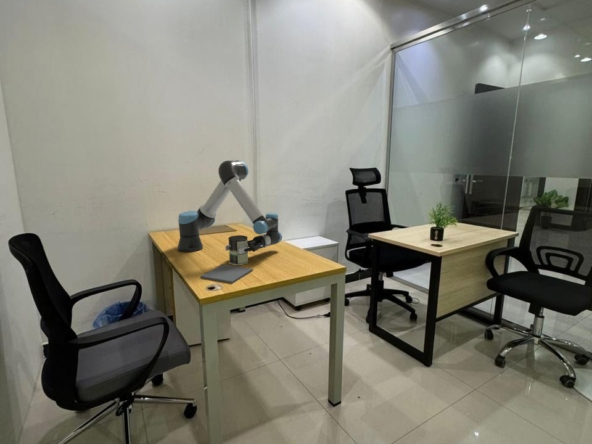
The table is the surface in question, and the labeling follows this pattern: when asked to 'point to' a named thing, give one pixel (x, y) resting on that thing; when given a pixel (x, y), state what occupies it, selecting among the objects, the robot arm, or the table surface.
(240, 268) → the rubber mat
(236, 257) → the coffee can
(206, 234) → the table surface
